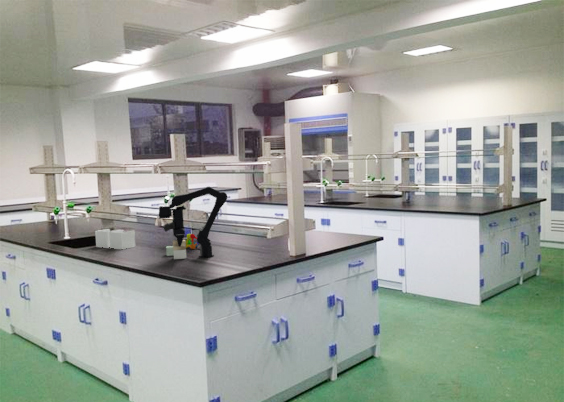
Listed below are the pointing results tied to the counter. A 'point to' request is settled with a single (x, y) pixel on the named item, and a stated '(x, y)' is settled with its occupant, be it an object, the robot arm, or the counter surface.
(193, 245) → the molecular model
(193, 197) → the robot arm
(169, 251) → the sage block
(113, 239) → the storage container
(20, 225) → the counter surface
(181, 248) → the maple block
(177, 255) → the offwhite block
